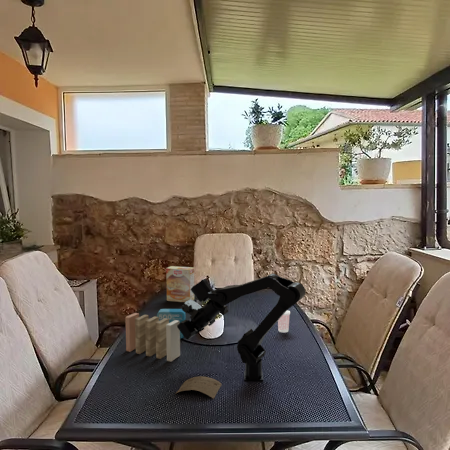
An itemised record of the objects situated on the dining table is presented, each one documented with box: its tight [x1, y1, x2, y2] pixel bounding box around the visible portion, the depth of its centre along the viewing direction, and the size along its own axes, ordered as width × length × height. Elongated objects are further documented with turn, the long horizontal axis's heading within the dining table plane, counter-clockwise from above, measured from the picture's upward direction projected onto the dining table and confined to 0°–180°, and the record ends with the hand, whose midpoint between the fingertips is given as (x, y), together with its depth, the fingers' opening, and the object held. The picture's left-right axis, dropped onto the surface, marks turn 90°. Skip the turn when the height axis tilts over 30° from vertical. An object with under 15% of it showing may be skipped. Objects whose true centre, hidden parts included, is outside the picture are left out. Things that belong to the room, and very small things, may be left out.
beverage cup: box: [277, 309, 291, 333], centre depth 179 cm, size 6×6×14 cm
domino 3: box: [155, 318, 169, 360], centre depth 153 cm, size 2×6×14 cm, turn 153°
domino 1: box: [135, 314, 150, 355], centre depth 157 cm, size 2×6×14 cm, turn 153°
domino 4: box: [166, 320, 181, 362], centre depth 150 cm, size 2×6×14 cm, turn 152°
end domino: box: [124, 312, 140, 353], centre depth 160 cm, size 2×6×14 cm, turn 152°
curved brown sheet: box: [176, 375, 223, 399], centre depth 127 cm, size 14×10×3 cm
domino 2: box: [145, 315, 159, 357], centre depth 155 cm, size 2×6×14 cm, turn 152°
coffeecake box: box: [165, 265, 195, 303], centre depth 229 cm, size 15×7×20 cm, turn 73°
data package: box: [156, 308, 187, 340], centre depth 172 cm, size 12×4×12 cm, turn 89°
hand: (184, 336), depth 148 cm, fingers closed
